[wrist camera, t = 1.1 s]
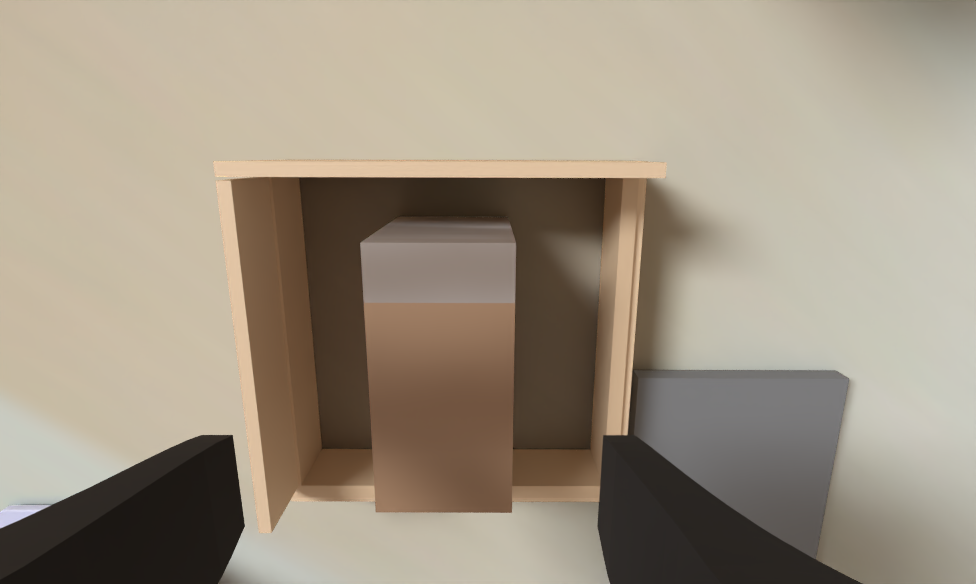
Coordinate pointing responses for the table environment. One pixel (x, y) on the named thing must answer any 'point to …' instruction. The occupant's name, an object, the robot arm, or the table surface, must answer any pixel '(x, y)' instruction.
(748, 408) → the slate mat
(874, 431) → the table surface
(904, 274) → the table surface
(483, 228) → the walnut box
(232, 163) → the wooden drawer
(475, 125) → the table surface
